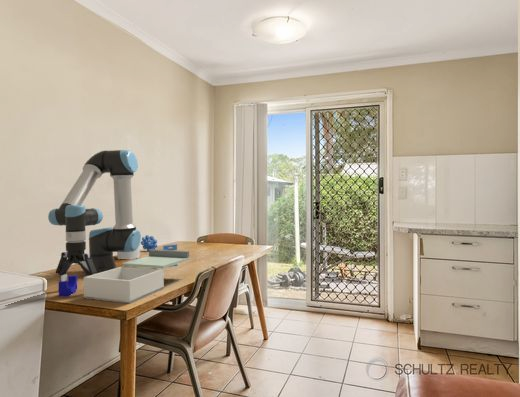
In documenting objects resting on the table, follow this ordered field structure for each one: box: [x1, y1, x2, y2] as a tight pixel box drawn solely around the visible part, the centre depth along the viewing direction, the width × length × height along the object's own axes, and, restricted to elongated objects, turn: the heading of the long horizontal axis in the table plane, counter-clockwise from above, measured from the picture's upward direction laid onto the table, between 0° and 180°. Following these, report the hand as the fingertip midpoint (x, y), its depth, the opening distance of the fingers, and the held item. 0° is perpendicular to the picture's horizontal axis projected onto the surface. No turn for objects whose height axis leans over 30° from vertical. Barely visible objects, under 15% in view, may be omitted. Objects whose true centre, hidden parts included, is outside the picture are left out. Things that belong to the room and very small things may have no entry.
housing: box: [83, 266, 165, 304], centre depth 148 cm, size 22×22×8 cm
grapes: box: [140, 234, 158, 252], centre depth 259 cm, size 12×7×12 cm, turn 106°
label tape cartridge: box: [162, 243, 178, 267], centre depth 205 cm, size 9×4×12 cm, turn 133°
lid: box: [121, 249, 190, 270], centre depth 169 cm, size 22×22×4 cm
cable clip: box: [58, 275, 78, 297], centre depth 151 cm, size 12×4×6 cm, turn 9°
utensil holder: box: [116, 229, 141, 260], centre depth 234 cm, size 15×15×18 cm
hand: (76, 291), depth 152 cm, fingers open, 13 cm apart
